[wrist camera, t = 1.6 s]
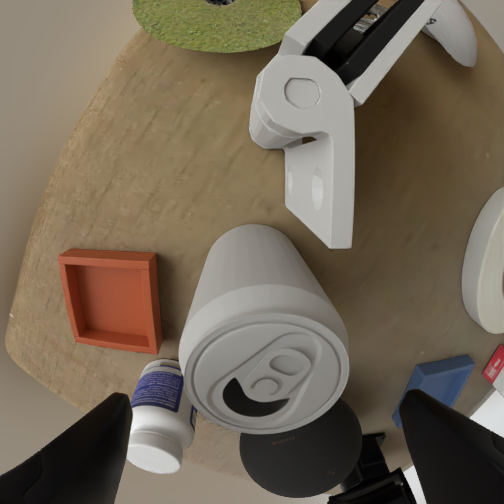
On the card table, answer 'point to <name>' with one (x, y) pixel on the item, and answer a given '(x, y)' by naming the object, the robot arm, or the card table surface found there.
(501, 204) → the tape roll
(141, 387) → the pill bottle
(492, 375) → the ink box
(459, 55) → the stone
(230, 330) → the beverage can
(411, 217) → the card table surface
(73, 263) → the terracotta tray
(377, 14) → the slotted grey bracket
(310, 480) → the speaker
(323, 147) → the hinge
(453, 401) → the blue square tray
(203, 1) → the green disc with hole
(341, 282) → the card table surface
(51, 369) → the card table surface
